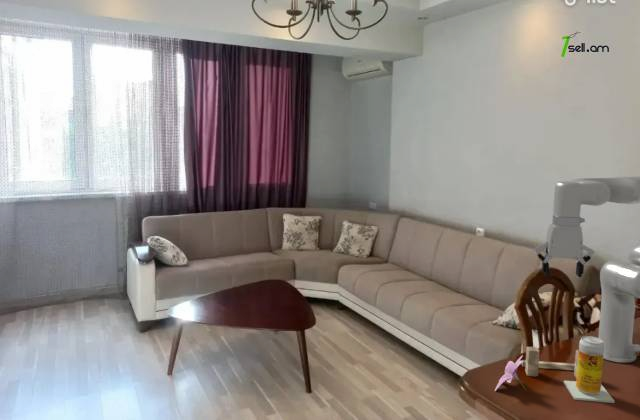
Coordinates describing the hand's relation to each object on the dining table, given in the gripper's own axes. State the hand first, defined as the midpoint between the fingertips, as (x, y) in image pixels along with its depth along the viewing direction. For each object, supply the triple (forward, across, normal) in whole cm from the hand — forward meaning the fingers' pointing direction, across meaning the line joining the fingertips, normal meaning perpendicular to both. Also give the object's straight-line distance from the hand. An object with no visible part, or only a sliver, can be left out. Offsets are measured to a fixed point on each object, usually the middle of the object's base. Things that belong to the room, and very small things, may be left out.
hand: (562, 275), depth 157 cm
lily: (+29, +18, +21) cm, 40 cm away
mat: (+28, -3, +20) cm, 35 cm away
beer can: (+28, -3, +20) cm, 35 cm away
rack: (+28, +3, +9) cm, 30 cm away
